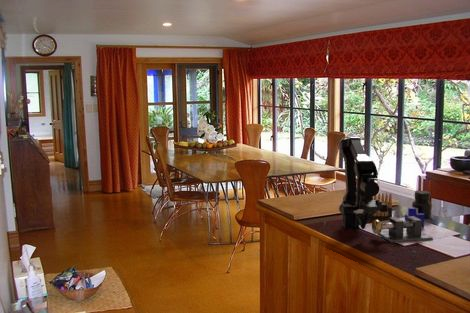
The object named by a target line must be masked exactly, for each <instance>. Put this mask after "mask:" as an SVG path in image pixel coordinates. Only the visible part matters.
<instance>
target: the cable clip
mask: <svg viewBox="0 0 470 313" xmlns="http://www.w3.org/2000/svg"><path fill="white" fill-rule="evenodd" d="M424 215H425V214H416V208H412V207H408V211H407V213H404V221H405V220H406V221H407V217H410V216H414V217H416V218H418V219H420V220H422V228H425V219H424ZM406 221H405V222H406Z"/></svg>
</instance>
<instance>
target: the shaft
mask: <svg viewBox="0 0 470 313" xmlns="http://www.w3.org/2000/svg"><path fill="white" fill-rule="evenodd" d="M407 228H413V222H406V221H404V227H403V229H407ZM389 229H395V223H389V222H383V223H381V221H380V220H379V219H372V222H371V230H372V232H373V234H374V235H379V234H380V233H381V231H382V230H385V231H386V230H389Z"/></svg>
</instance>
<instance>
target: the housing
mask: <svg viewBox="0 0 470 313" xmlns="http://www.w3.org/2000/svg"><path fill="white" fill-rule="evenodd" d="M404 222H405V220H403V219H400V218H398V217H395V216H394V217H393V216H392V218H389V219H388V223H395V229H388V230H385V231H382V230H381V233H380V234H378V236H380V237H381V238H383V239H384V240H387V241H388V242H390V243H404V242H405V243H406V242H420V241H422V242H423V241H433V240H434V237H433V236H431V235H429V234H427V233H425V232H423V231H422V228H423V227H422V220H420V219H418V218H416V217H414V216H410V217H407V222H413V228H405V229H404V228H403V227H404Z"/></svg>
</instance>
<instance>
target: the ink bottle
mask: <svg viewBox="0 0 470 313" xmlns="http://www.w3.org/2000/svg"><path fill="white" fill-rule="evenodd" d="M411 208H416V214H425V215H424V220H426V219H427V220H428V219H431V217H432V208H433V204H432V202H431V192H430V191H427V190H416V191H414V200H413V201H412V202H411Z"/></svg>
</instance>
